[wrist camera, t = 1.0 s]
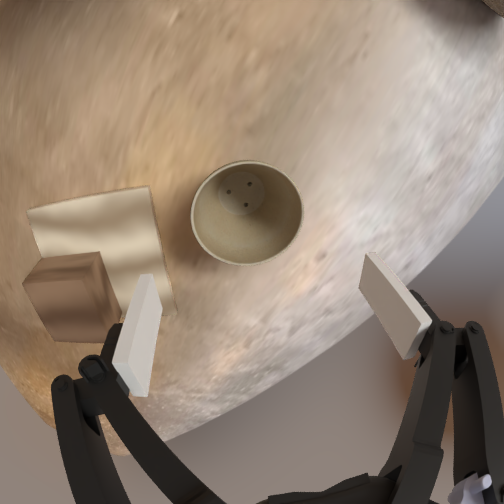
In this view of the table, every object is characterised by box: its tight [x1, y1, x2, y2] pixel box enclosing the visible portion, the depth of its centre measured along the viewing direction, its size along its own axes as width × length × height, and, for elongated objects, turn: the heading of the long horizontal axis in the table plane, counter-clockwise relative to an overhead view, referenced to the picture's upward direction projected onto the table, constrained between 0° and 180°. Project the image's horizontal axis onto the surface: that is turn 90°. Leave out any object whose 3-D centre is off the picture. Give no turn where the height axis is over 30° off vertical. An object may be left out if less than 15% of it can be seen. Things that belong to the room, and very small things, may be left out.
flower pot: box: [190, 160, 304, 266], centre depth 27 cm, size 10×10×7 cm
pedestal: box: [22, 251, 122, 343], centre depth 30 cm, size 10×10×6 cm
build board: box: [26, 185, 178, 317], centre depth 32 cm, size 18×18×1 cm
